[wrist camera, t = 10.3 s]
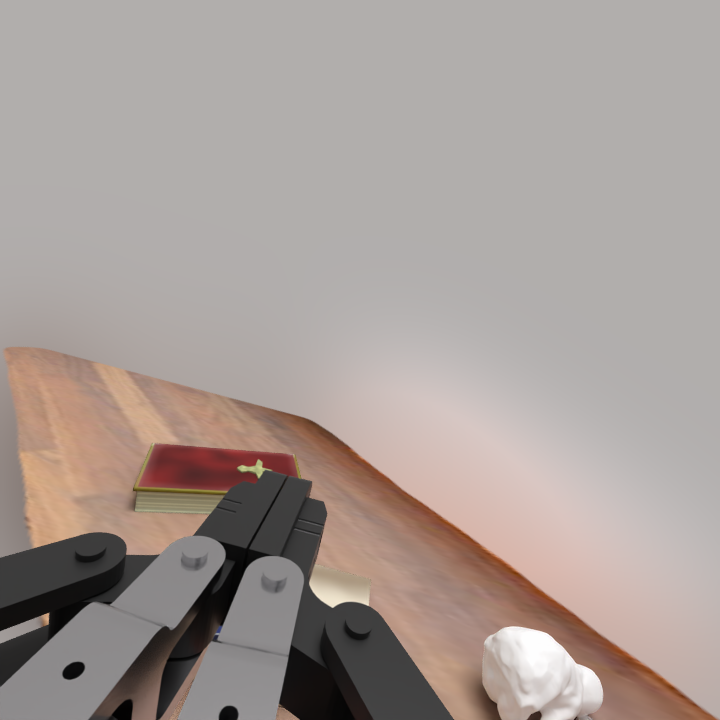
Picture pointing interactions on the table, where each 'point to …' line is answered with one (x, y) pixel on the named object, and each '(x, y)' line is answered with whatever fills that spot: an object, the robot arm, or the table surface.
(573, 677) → the white figurine
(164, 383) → the table surface
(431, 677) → the table surface
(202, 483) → the hardcover book
